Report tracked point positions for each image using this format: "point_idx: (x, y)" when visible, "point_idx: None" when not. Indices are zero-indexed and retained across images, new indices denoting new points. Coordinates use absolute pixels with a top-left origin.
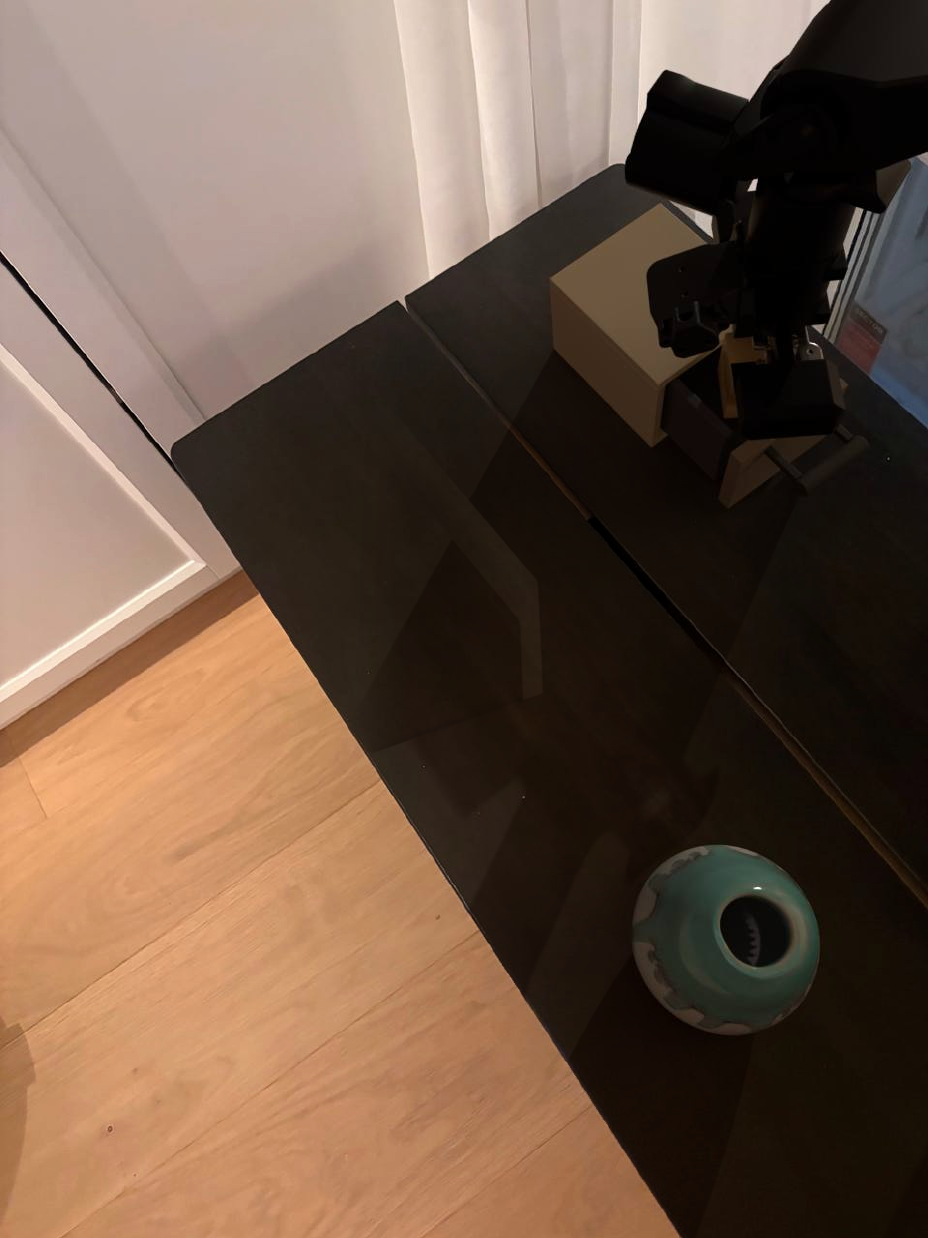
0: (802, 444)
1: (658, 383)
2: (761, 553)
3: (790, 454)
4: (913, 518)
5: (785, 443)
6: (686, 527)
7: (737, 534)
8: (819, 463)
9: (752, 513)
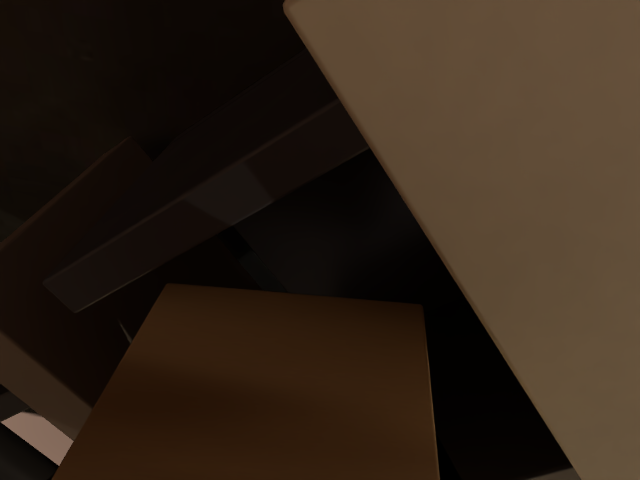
0: None
1: (289, 7)
2: (25, 201)
3: None
4: None
5: None
6: (62, 29)
7: (64, 159)
8: (17, 476)
9: None
